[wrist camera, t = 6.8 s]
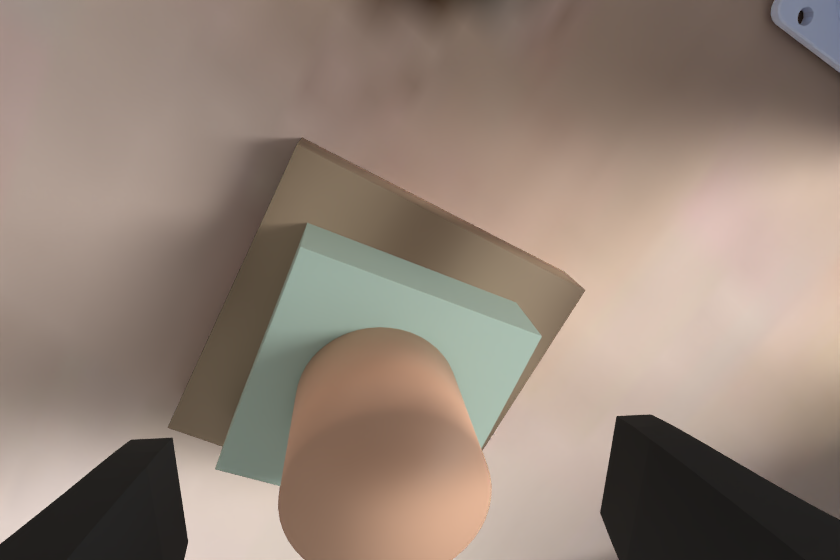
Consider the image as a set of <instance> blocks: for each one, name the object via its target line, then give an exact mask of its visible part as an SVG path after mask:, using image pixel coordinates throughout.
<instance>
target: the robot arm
mask: <svg viewBox="0 0 840 560" xmlns="http://www.w3.org/2000/svg"><path fill="white" fill-rule="evenodd" d="M801 10H802V11H803V13H804V18H803V20H802V23H801V24H799V23H798V14H799V12H800V11H801ZM771 17H772V20H773V22H774V23H775V24H776V25H777V26H778V27H780V28H781V29H782V30H784V31H785V32H786V33H788V34H789V35H790V36H792V37H793V38H794V39H796V40H797V41H798V42H800V43H801V44H802V45H804V46H805V47H806V48H808V49H809V50H810V51H811V52H813V53H814V54H815V55H817V56H818V57H819V58H821V59H822V60H823V61H825V62H826V63H827V64H829V65H830V66H831V67H833V68H834V69H835V70H837V71H838V72H839V73H840V0H774V2H773V5H772V7H771ZM600 514H601V516H602V519H603V521H604V524H605V526H606V529H607V532H608V534H609V537H610V539H611V542H612V544H613V547H614V549H615V551H616V554H617V556H618V558H619V560H840V520H839V519H837V518H835V517H833V516H831V515H829V514H827V513H825V512H823V511H821V510H820V509H818V508H816V507H814V506H812V505H811V504H809V503H807V502H805V501H803V500H801V499H800V498H798V497H796V496H794V495H792V494H791V493H789V492H787V491H785V490H784V489H782V488H780V487H778V486H777V485H775V484H773V483H771V482H770V481H768V480H766V479H764V478H763V477H761V476H759V475H757V474H756V473H754V472H752V471H750V470H749V469H747V468H745V467H744V466H742V465H740V464H738V463H737V462H735V461H733V460H732V459H730V458H728V457H727V456H725V455H723V454H721V453H720V452H718V451H716V450H715V449H713V448H711V447H709V446H708V445H706V444H704V443H703V442H701V441H699V440H697V439H696V438H694V437H692V436H690V435H689V434H687V433H685V432H683V431H682V430H680V429H678V428H676V427H674V426H673V425H671V424H669V423H667V422H665V421H663V420H661V419H659V418H657V417H655V416H653V415H632V416H617V417H616V423H615V429H614V435H613V441H612V447H611V453H610V459H609V465H608V470H607V476H606V482H605V488H604V494H603V500H602V506H601V512H600ZM187 545H188V538H187V531H186V525H185V518H184V511H183V505H182V498H181V491H180V485H179V478H178V471H177V465H176V458H175V451H174V445H173V438H158V439H138V440H130V441H129V442H127V443H126V444H125V445H123V446H122V447H121V448H119V449H118V450H117V451H115V452H114V453H113V454H112V455H110V456H109V457H108V458H107V459H105V460H104V461H103V462H102V463H100V464H99V465H98V466H97V467H96V468H94V469H93V470H92V471H91V472H89V473H88V474H87V475H86V476H85V477H83V478H82V479H81V480H80V481H78V482H77V483H76V484H75V485H74V486H72V487H71V488H70V489H69V490H67V491H66V492H65V493H64V494H62V495H61V496H60V497H59V498H57V499H56V500H55V501H54V502H52V503H51V504H50V505H49V506H47V507H46V508H45V509H44V510H42V511H41V512H40V513H39V514H37V515H36V516H35V517H34V518H32V519H31V520H30V521H29V522H27V523H26V524H25V525H24V526H22V527H21V528H20V529H19V530H17V531H16V532H15V533H14V534H12V535H11V536H10V537H9V538H7V539H6V540H5V541H4V542H2V543H1V544H0V560H184V558H185V553H186V549H187Z"/></svg>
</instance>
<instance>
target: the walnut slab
mask: <svg viewBox="0 0 840 560" xmlns="http://www.w3.org/2000/svg"><path fill="white" fill-rule="evenodd" d="M307 223H309V224H312V225H315V226H317V227H320V228H323V229H325V230H328V231H330V232H333V233H336V234H338V235H341V236H343V237H346V238H349V239H351V240H354V241H357V242H359V243H362V244H364V245H367V246H370V247H372V248H375V249H377V250H380V251H383V252H385V253H388V254H391V255H393V256H396V257H398V258H401V259H404V260H406V261H409V262H411V263H414V264H417V265H419V266H422V267H425V268H427V269H430V270H432V271H435V272H438V273H440V274H443V275H445V276H448V277H451V278H453V279H456V280H459V281H461V282H464V283H466V284H469V285H472V286H474V287H477V288H479V289H482V290H485V291H487V292H490V293H493V294H495V295H498V296H500V297H503V298H506V299H508V300H511V301H513V302H516V303H517V304H518V305H519V307H520V308H521V309H522V311H523V312H524V313H525V315H526V316H527V317H528V319H529V320H530V321H531V322H532V324H533V325H534V326H535V328H536V329H537V330H538V332H539V333H540V334H541V336H542V337H541V339H540V341H539V343H538V345H537V346H536V348H535V350H534V352H533V354H532V356H531V358H530V359H529V361H528V363H527V365H526V367H525V369H524V371H523V372H522V374H521V376H520V378H519V380H518V382H517V384H516V385H515V387H514V389H513V391H512V393H511V395H510V397H509V398H508V400H507V402H506V404H505V406H504V408H503V410H502V411H501V413H500V415H499V417H498V419H497V421H496V423H495V424H494V426H493V428H492V430H491V432H490V434H489V436H488V437H487V439H486V441H485V443H484V445H483V447H482V449H481V450H483V449H484V447H485V446H486V444H487V442H488V441H489V439H490V438H491V436H492V435H493V433H494V432H495V430H496V428H497V427H498V425H499V424H500V422H501V421H502V419H503V418H504V416H505V414H506V413H507V411H508V410H509V408H510V407H511V405H512V404H513V402H514V400H515V399H516V397H517V396H518V394H519V393H520V391H521V390H522V388H523V386H524V385H525V383H526V382H527V380H528V379H529V377H530V376H531V374H532V372H533V371H534V369H535V368H536V366H537V365H538V363H539V362H540V360H541V359H542V357H543V355H544V354H545V352H546V351H547V349H548V348H549V346H550V345H551V343H552V341H553V340H554V338H555V337H556V335H557V334H558V332H559V331H560V329H561V327H562V326H563V324H564V323H565V321H566V320H567V318H568V317H569V315H570V313H571V312H572V310H573V309H574V307H575V306H576V304H577V303H578V301H579V299H580V298H581V296H582V295H583V293H584V292H585V289H583V288H582V287H581V286H580V285H579V284H578V283H577V282H575V281H574V280H573V279H572V278H571V277H570V276H569V275H568V274H566V273H565V272H564V271H562V270H560V269H558V268H556V267H554V266H552V265H550V264H548V263H546V262H544V261H542V260H540V259H538V258H536V257H535V256H533V255H531V254H529V253H527V252H525V251H523V250H521V249H519V248H517V247H515V246H513V245H511V244H509V243H507V242H505V241H503V240H501V239H499V238H497V237H495V236H493V235H491V234H490V233H488V232H486V231H484V230H482V229H480V228H478V227H476V226H474V225H472V224H470V223H468V222H466V221H464V220H462V219H460V218H458V217H456V216H454V215H452V214H450V213H448V212H447V211H445V210H443V209H441V208H439V207H437V206H435V205H433V204H431V203H429V202H427V201H425V200H423V199H421V198H419V197H417V196H415V195H413V194H411V193H409V192H407V191H405V190H404V189H402V188H400V187H398V186H396V185H394V184H392V183H390V182H388V181H386V180H384V179H382V178H380V177H378V176H376V175H374V174H372V173H370V172H368V171H366V170H364V169H362V168H360V167H359V166H357V165H355V164H353V163H351V162H349V161H347V160H345V159H343V158H341V157H339V156H337V155H335V154H333V153H331V152H329V151H327V150H325V149H323V148H321V147H319V146H317V145H316V144H314V143H312V142H310V141H308V140H306V139H304V138H302V139H301V140H300V141H299V142H298V144H297V145H296V148H295V150H294V152H293V154H292V156H291V159H290V161H289V163H288V165H287V167H286V170H285V172H284V174H283V176H282V178H281V181H280V183H279V185H278V187H277V189H276V191H275V194H274V196H273V198H272V200H271V202H270V205H269V207H268V209H267V211H266V213H265V216H264V218H263V220H262V222H261V224H260V227H259V229H258V231H257V233H256V235H255V237H254V240H253V242H252V244H251V246H250V248H249V251H248V253H247V255H246V257H245V259H244V262H243V264H242V266H241V268H240V270H239V273H238V275H237V277H236V279H235V281H234V283H233V286H232V288H231V290H230V292H229V294H228V297H227V299H226V301H225V303H224V305H223V308H222V310H221V312H220V314H219V316H218V319H217V321H216V323H215V325H214V327H213V329H212V332H211V334H210V336H209V338H208V340H207V343H206V345H205V347H204V349H203V351H202V354H201V356H200V358H199V360H198V362H197V365H196V367H195V369H194V371H193V373H192V375H191V378H190V380H189V382H188V384H187V386H186V389H185V391H184V393H183V395H182V397H181V400H180V402H179V404H178V406H177V408H176V411H175V413H174V415H173V417H172V419H171V421H170V424H169V426H168V428H170V429H173V430H176V431H179V432H182V433H185V434H188V435H190V436H193V437H196V438H199V439H202V440H205V441H208V442H211V443H214V444H217V445H220V446H223V445H224V442H225V439H226V436H227V433H228V430H229V427H230V424H231V421H232V418H233V416H234V413H235V411H236V408H237V405H238V403H239V400H240V398H241V395H242V392H243V390H244V387H245V384H246V382H247V379H248V377H249V374H250V371H251V369H252V366H253V364H254V361H255V358H256V356H257V353H258V350H259V348H260V345H261V343H262V340H263V337H264V335H265V332H266V330H267V327H268V324H269V322H270V319H271V316H272V314H273V311H274V309H275V306H276V303H277V301H278V298H279V296H280V293H281V290H282V288H283V285H284V282H285V280H286V277H287V275H288V272H289V269H290V267H291V264H292V262H293V259H294V256H295V254H296V251H297V248H298V246H299V243H300V241H301V238H302V235H303V233H304V230H305V228H306V225H307Z"/></svg>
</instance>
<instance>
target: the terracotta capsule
mask: <svg viewBox="0 0 840 560" xmlns="http://www.w3.org/2000/svg"><path fill="white" fill-rule="evenodd" d="M490 501H491V478H490V473H489V470H488V466H487V463H486V461H485V458H484V455H483V452H482V450H481V447H480V444H479V441H478V439H477V436H476V433H475V431H474V428H473V425H472V422H471V420H470V417H469V414H468V411H467V409H466V406H465V403H464V401H463V398H462V395H461V392H460V390H459V387H458V384H457V382H456V379H455V376H454V373H453V371H452V369H451V367H450V365H449V363H448V361H447V360H446V358H445V357H444V356H443V355H442V353H441V352H440V351H439V350H438V349H437V348H436V347H435V346H433V345H432V344H431V343H430V342H428V341H427V340H425V339H423V338H422V337H420V336H418V335H415V334H413V333H411V332H407V331H404V330H401V329H395V328H385V327H375V328H366V329H360V330H356V331H353V332H350V333H347V334H344V335H342V336H340V337H338V338H336V339H334V340H333V341H331V342H329V343H328V344H326V345H325V346H324V347H323V348H322V349H320V350H319V351H318V352H317V353H316V354H315V355H314V356H313V357H312V359H311V360H310V361H309V363H308V364H307V365H306V367H305V369H304V371H303V373H302V374H301V377H300V380H299V383H298V386H297V391H296V397H295V402H294V408H293V414H292V420H291V426H290V432H289V438H288V444H287V450H286V455H285V461H284V467H283V473H282V479H281V485H280V491H279V499H278V510H279V517H280V522H281V525H282V528H283V531H284V533H285V535H286V537H287V539H288V541H289V542H290V544H291V545H292V546H293V548H294V549H295V550H296V551H297V553H298V554H299V555H300V556H301V557H302V558H303V559H305V560H452V559H453V558H455V557H456V556H457V555H458V554H460V553H461V552H462V551H463V550H464V549H465V548H466V547H467V546H468V545H469V544H470V542H471V541H472V540H473V539H474V538H475V536H476V535H477V533H478V532H479V530H480V529H481V527H482V525H483V523H484V521H485V519H486V516H487V513H488V510H489V506H490Z"/></svg>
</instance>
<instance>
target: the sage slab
mask: <svg viewBox="0 0 840 560" xmlns="http://www.w3.org/2000/svg"><path fill="white" fill-rule="evenodd" d="M375 327H385V328H395V329H401V330H404V331H407V332H411V333H413V334H415V335H418V336H420V337H422V338H423V339H425V340H427V341H428V342H430V343H431V344H432V345H433V346H435V347H436V348H437V349H438V350H439V351H440V352H441V353H442V355H443V356H444V357H445V358H446V360H447V361H448V363H449V365H450V367H451V369H452V371H453V373H454V376H455V379H456V382H457V384H458V387H459V390H460V392H461V395H462V398H463V401H464V403H465V406H466V409H467V411H468V414H469V417H470V420H471V422H472V425H473V428H474V431H475V433H476V436H477V439H478V441H479V444H480V447H481V449H482V447H483V445H484V443H485V441H486V439H487V437H488V436H489V434H490V432H491V430H492V428H493V426H494V424H495V423H496V421H497V419H498V417H499V415H500V413H501V411H502V410H503V408H504V406H505V404H506V402H507V400H508V398H509V397H510V395H511V393H512V391H513V389H514V387H515V385H516V384H517V382H518V380H519V378H520V376H521V374H522V372H523V371H524V369H525V367H526V365H527V363H528V361H529V359H530V358H531V356H532V354H533V352H534V350H535V348H536V346H537V345H538V343H539V341H540V339H541V337H542V336H541V334H540V333H539V332H538V330H537V329H536V328H535V326H534V325H533V324H532V322H531V321H530V320H529V319H528V317H527V316H526V315H525V313H524V312H523V311H522V309H521V308H520V307H519V305H518V304H517V303H516V302H513V301H511V300H508V299H506V298H503V297H500V296H498V295H495V294H493V293H490V292H487V291H485V290H482V289H479V288H477V287H474V286H472V285H469V284H466V283H464V282H461V281H459V280H456V279H453V278H451V277H448V276H445V275H443V274H440V273H438V272H435V271H432V270H430V269H427V268H425V267H422V266H419V265H417V264H414V263H411V262H409V261H406V260H404V259H401V258H398V257H396V256H393V255H391V254H388V253H385V252H383V251H380V250H377V249H375V248H372V247H370V246H367V245H364V244H362V243H359V242H357V241H354V240H351V239H349V238H346V237H343V236H341V235H338V234H336V233H333V232H330V231H328V230H325V229H323V228H320V227H317V226H315V225H312V224H309V223H307V225H306V228H305V230H304V233H303V235H302V238H301V241H300V243H299V246H298V248H297V251H296V254H295V256H294V259H293V262H292V264H291V267H290V269H289V272H288V275H287V277H286V280H285V282H284V285H283V288H282V290H281V293H280V296H279V298H278V301H277V303H276V306H275V309H274V311H273V314H272V316H271V319H270V322H269V324H268V327H267V330H266V332H265V335H264V337H263V340H262V343H261V345H260V348H259V350H258V353H257V356H256V358H255V361H254V364H253V366H252V369H251V371H250V374H249V377H248V379H247V382H246V384H245V387H244V390H243V392H242V395H241V398H240V400H239V403H238V405H237V408H236V411H235V413H234V416H233V418H232V421H231V424H230V427H229V430H228V433H227V436H226V439H225V442H224V445H223V448H222V451H221V454H220V456H219V459H218V462H217V465H216V468H215V469H216V470H220V471H224V472H228V473H232V474H235V475H239V476H243V477H247V478H251V479H255V480H259V481H263V482H266V483H270V484H274V485H278V486H280V485H281V479H282V473H283V467H284V461H285V455H286V450H287V444H288V438H289V432H290V426H291V420H292V414H293V408H294V402H295V397H296V391H297V386H298V383H299V380H300V377H301V374H302V373H303V371H304V369H305V367H306V365H307V364H308V363H309V361H310V360H311V359H312V357H313V356H314V355H315V354H316V353H317V352H318V351H319V350H320V349H322V348H323V347H324V346H325V345H326V344H328V343H329V342H331V341H333V340H334V339H336V338H338V337H340V336H342V335H344V334H347V333H350V332H353V331H356V330H360V329H366V328H375Z"/></svg>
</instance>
